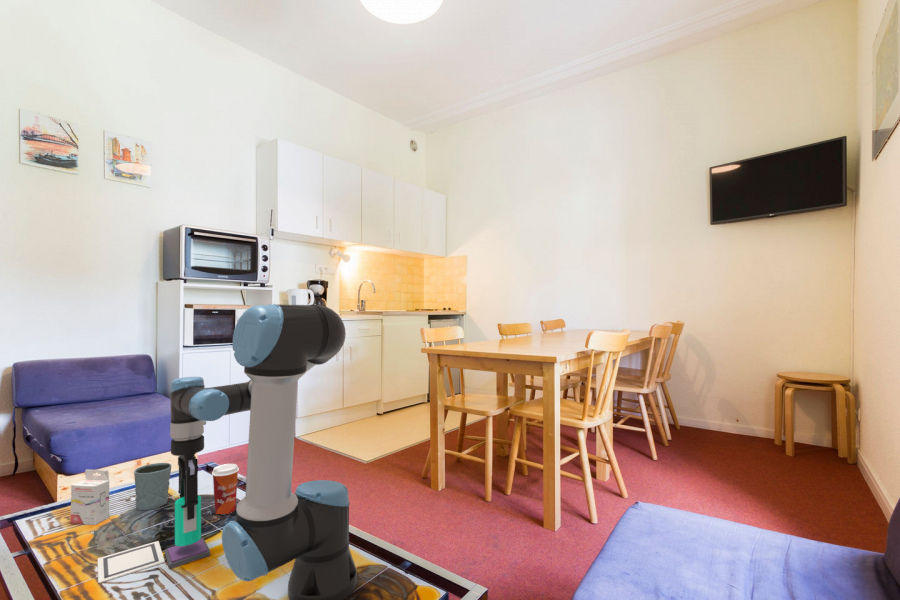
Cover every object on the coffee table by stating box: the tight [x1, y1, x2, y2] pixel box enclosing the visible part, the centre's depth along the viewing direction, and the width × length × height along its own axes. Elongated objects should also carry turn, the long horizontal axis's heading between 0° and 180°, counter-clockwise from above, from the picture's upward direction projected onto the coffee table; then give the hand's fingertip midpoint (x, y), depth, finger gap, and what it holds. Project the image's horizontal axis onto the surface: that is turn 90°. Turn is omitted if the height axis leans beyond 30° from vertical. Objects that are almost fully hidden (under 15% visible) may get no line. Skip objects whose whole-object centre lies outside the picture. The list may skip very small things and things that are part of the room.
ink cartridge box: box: [70, 469, 110, 526], centre depth 132 cm, size 9×5×15 cm, turn 84°
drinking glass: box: [133, 462, 172, 511], centre depth 143 cm, size 10×10×12 cm
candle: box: [174, 495, 202, 546], centre depth 113 cm, size 6×6×12 cm
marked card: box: [97, 540, 166, 584], centre depth 110 cm, size 13×13×1 cm
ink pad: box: [164, 537, 211, 570], centre depth 113 cm, size 9×9×1 cm
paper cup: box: [211, 463, 240, 515], centre depth 137 cm, size 8×8×14 cm
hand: (188, 526), depth 113 cm, fingers closed on candle, 5 cm apart
